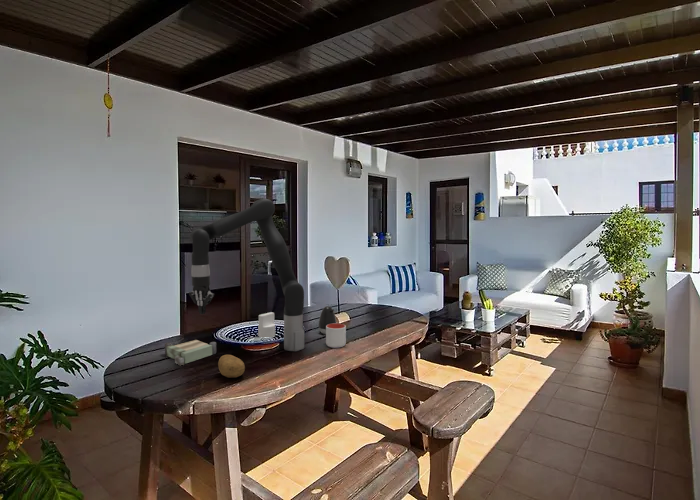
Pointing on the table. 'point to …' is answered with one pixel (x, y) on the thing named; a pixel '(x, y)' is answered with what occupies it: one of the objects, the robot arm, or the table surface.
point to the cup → (335, 335)
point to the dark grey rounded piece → (326, 318)
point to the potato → (231, 366)
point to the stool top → (181, 350)
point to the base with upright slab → (266, 325)
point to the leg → (199, 352)
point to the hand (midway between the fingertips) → (202, 313)
